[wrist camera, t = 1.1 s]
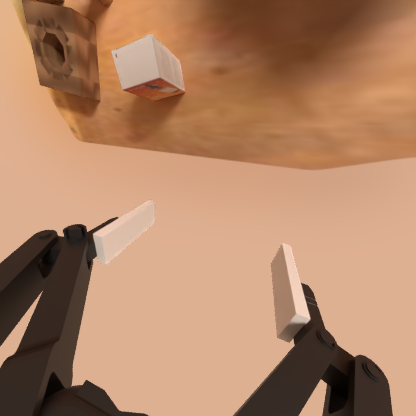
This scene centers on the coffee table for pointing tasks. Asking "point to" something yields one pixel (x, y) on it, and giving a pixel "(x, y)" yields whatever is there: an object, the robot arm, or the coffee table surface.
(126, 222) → the robot arm
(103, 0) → the round peg
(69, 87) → the socket block
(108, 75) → the coffee table surface
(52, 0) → the square block
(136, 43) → the small box
